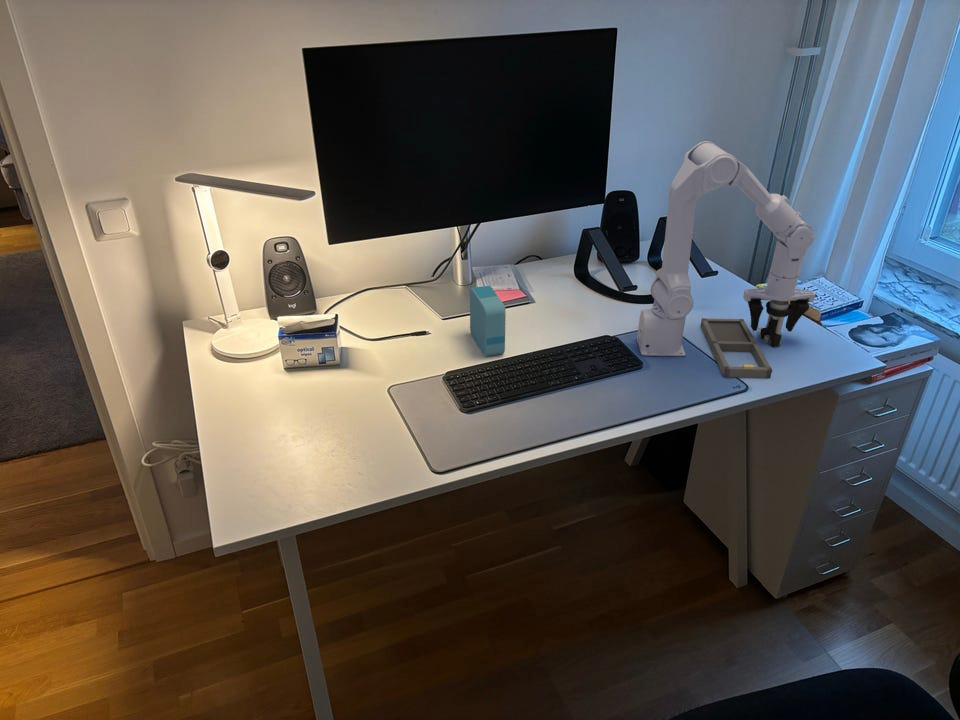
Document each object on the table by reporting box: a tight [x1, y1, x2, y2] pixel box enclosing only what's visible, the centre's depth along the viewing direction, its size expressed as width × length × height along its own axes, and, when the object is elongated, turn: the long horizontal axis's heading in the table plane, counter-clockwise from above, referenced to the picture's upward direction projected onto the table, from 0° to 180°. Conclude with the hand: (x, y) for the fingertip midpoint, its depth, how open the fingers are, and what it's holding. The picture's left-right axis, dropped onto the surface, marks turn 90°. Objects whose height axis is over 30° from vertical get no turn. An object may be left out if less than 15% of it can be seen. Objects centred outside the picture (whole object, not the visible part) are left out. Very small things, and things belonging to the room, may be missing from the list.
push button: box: [756, 300, 792, 348], centre depth 162 cm, size 7×5×10 cm
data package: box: [469, 285, 507, 357], centre depth 160 cm, size 12×4×12 cm, turn 17°
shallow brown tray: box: [700, 317, 773, 379], centre depth 160 cm, size 10×22×3 cm, turn 178°
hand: (771, 329), depth 163 cm, fingers open, 7 cm apart
